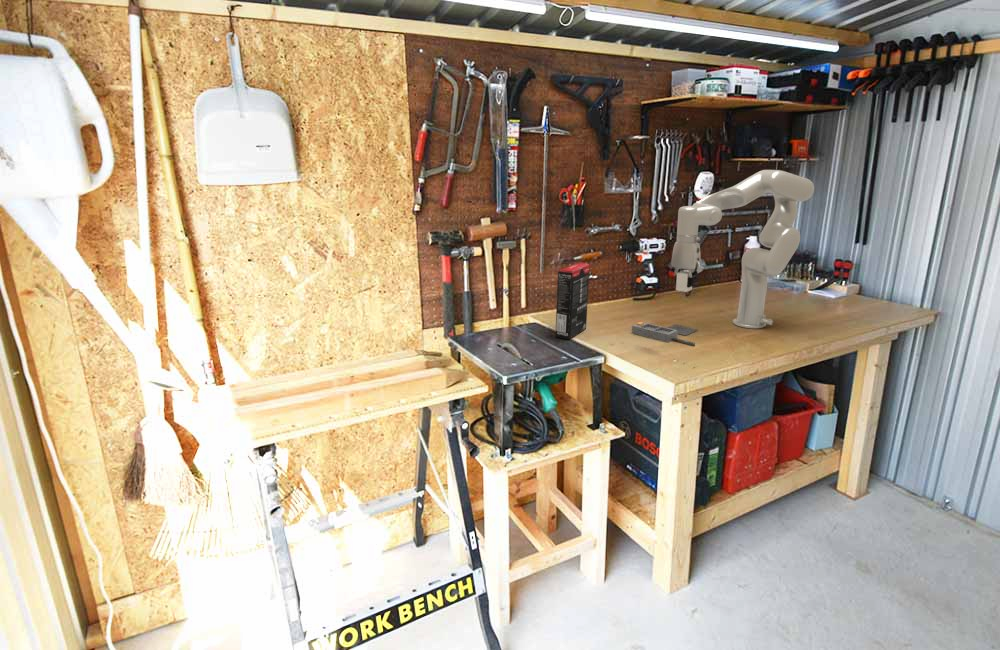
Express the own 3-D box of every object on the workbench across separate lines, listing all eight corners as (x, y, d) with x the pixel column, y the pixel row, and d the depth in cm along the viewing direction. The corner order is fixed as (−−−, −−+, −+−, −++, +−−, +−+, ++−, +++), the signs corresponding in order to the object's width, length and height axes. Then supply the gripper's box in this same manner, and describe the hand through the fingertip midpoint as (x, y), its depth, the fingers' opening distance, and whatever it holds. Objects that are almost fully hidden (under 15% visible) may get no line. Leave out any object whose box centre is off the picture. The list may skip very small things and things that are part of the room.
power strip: (699, 343, 204) (700, 334, 203) (690, 348, 200) (691, 338, 198) (641, 329, 222) (642, 320, 221) (631, 333, 217) (632, 324, 216)
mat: (698, 330, 219) (698, 329, 219) (685, 336, 213) (685, 335, 213) (675, 325, 226) (675, 324, 226) (662, 330, 220) (662, 329, 220)
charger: (691, 289, 214) (693, 271, 212) (686, 291, 212) (687, 273, 209) (681, 287, 217) (682, 269, 215) (675, 290, 215) (676, 272, 212)
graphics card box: (572, 326, 227) (574, 261, 219) (588, 328, 224) (590, 263, 215) (554, 338, 213) (555, 269, 205) (571, 341, 210) (573, 271, 201)
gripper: (712, 239, 205) (708, 287, 210) (672, 236, 216) (669, 281, 222) (703, 242, 200) (699, 291, 205) (661, 238, 212) (659, 284, 217)
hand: (683, 285), depth 214 cm, fingers closed on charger, 4 cm apart
